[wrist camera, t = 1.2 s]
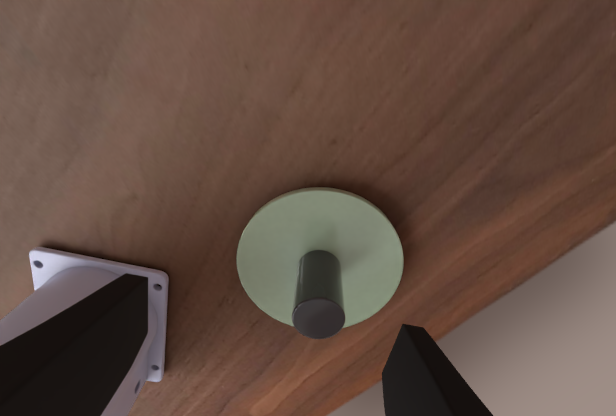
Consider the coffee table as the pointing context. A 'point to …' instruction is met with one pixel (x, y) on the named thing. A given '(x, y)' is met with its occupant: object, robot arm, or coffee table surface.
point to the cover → (320, 260)
